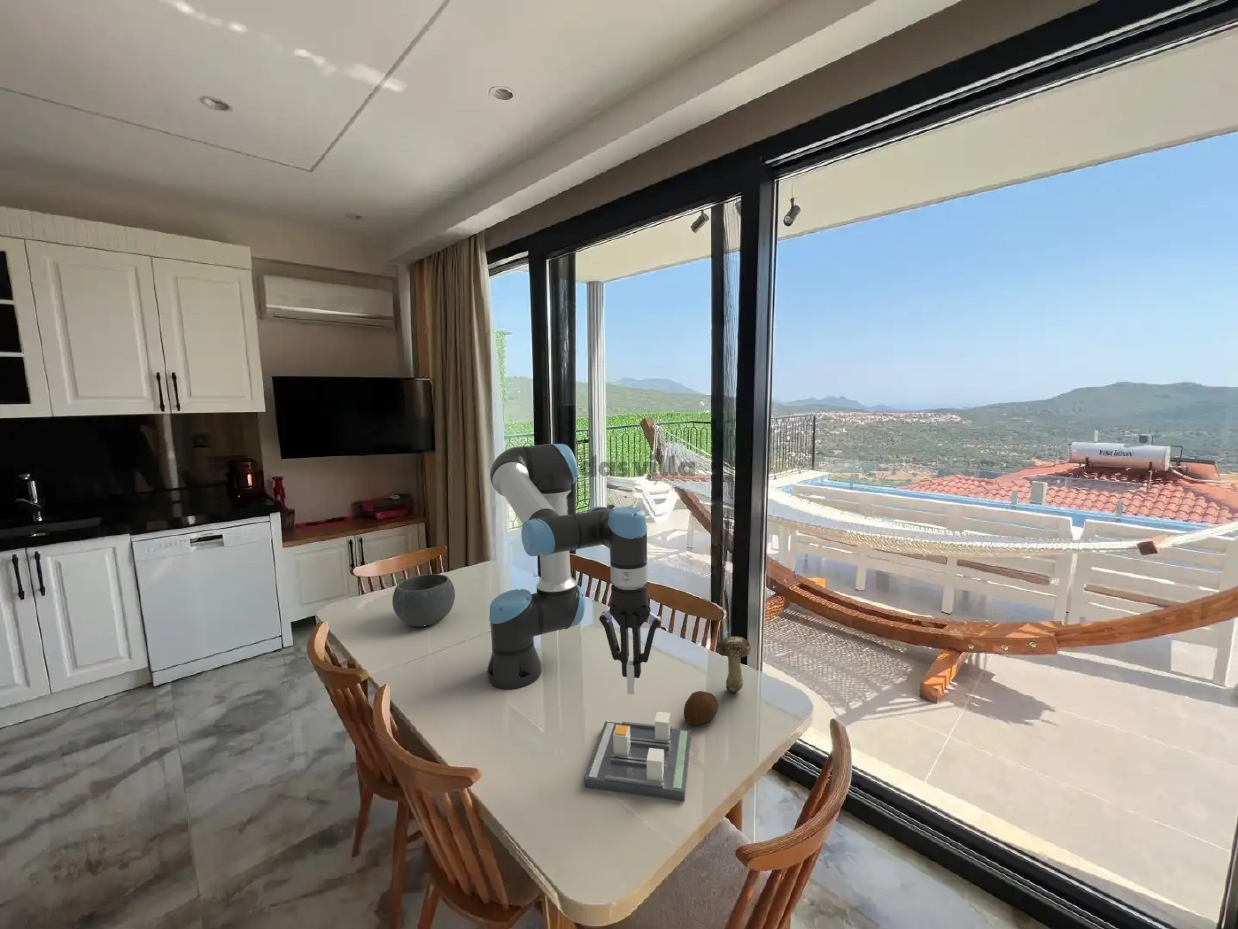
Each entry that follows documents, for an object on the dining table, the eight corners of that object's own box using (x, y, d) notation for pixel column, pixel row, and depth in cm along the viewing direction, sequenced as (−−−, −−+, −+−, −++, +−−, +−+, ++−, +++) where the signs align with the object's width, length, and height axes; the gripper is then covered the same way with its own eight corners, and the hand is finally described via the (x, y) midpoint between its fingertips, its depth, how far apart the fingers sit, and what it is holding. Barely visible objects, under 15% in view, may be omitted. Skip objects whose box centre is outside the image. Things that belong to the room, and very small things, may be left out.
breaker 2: (647, 780, 100) (646, 760, 99) (649, 768, 103) (649, 748, 103) (662, 782, 99) (661, 762, 99) (664, 769, 103) (663, 749, 102)
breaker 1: (655, 740, 112) (654, 721, 111) (657, 729, 115) (656, 711, 114) (668, 741, 111) (668, 723, 110) (670, 731, 114) (670, 713, 114)
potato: (726, 715, 123) (726, 689, 122) (701, 736, 116) (701, 708, 115) (702, 703, 128) (702, 678, 127) (677, 723, 121) (676, 696, 120)
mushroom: (730, 706, 126) (730, 650, 124) (709, 689, 134) (709, 635, 132) (759, 695, 131) (760, 640, 129) (737, 679, 138) (737, 627, 136)
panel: (584, 787, 102) (584, 775, 101) (605, 729, 119) (605, 719, 119) (684, 801, 98) (684, 788, 97) (690, 738, 115) (690, 728, 115)
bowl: (469, 617, 182) (466, 577, 180) (419, 641, 165) (416, 597, 163) (432, 605, 193) (429, 568, 191) (383, 627, 176) (379, 586, 174)
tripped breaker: (613, 754, 108) (613, 734, 107) (617, 743, 111) (616, 723, 110) (627, 756, 107) (627, 735, 106) (630, 745, 110) (630, 725, 110)
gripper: (593, 588, 101) (597, 698, 104) (658, 592, 98) (660, 704, 102) (602, 575, 108) (605, 678, 111) (663, 578, 106) (664, 683, 109)
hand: (631, 690), depth 106 cm, fingers closed
